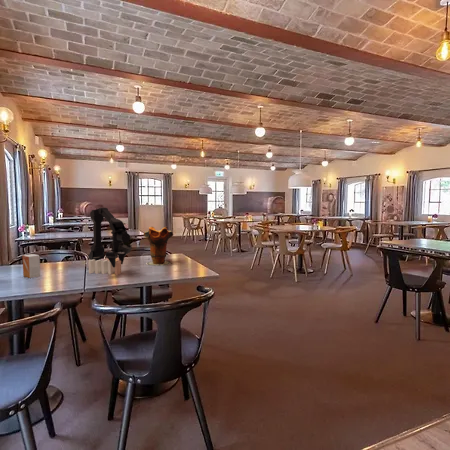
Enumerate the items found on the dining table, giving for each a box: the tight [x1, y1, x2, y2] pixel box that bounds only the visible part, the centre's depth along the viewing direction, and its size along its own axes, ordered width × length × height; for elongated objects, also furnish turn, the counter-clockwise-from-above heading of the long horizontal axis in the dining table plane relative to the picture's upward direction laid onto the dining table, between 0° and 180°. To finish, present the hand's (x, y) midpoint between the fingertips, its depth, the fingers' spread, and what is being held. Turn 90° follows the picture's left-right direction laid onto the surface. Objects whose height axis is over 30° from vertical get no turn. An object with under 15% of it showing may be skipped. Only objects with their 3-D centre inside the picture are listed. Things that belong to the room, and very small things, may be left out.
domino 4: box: [107, 260, 115, 275], centre depth 201 cm, size 5×2×8 cm, turn 169°
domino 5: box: [114, 259, 122, 276], centre depth 200 cm, size 5×2×8 cm, turn 168°
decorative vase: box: [142, 226, 174, 267], centre depth 232 cm, size 21×23×28 cm
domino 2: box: [94, 259, 103, 275], centre depth 202 cm, size 5×2×8 cm, turn 169°
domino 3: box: [101, 259, 109, 275], centre depth 201 cm, size 5×2×8 cm, turn 169°
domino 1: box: [88, 259, 95, 274], centre depth 203 cm, size 5×2×8 cm, turn 169°
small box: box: [21, 253, 41, 279], centre depth 193 cm, size 8×6×13 cm
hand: (117, 265), depth 200 cm, fingers open, 9 cm apart
